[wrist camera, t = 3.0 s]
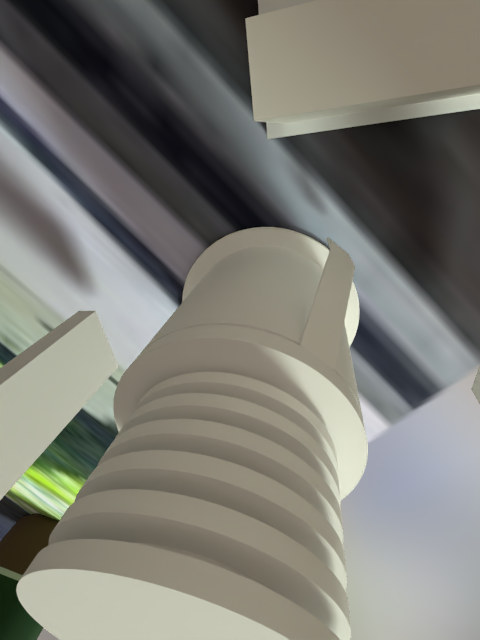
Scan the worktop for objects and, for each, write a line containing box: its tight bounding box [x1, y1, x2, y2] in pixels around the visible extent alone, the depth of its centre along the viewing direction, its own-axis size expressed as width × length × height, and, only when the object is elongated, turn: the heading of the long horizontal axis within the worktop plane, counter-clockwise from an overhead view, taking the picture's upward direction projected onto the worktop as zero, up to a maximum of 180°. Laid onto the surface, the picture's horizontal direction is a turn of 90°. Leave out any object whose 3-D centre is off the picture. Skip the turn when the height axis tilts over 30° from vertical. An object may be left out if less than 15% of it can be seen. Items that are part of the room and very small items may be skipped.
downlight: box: [16, 227, 368, 640], centre depth 8 cm, size 8×7×10 cm
